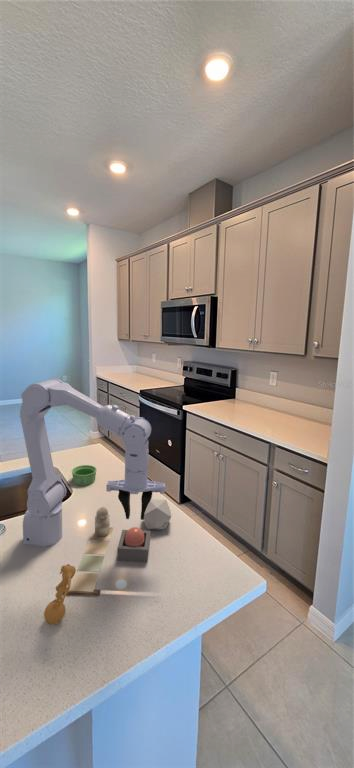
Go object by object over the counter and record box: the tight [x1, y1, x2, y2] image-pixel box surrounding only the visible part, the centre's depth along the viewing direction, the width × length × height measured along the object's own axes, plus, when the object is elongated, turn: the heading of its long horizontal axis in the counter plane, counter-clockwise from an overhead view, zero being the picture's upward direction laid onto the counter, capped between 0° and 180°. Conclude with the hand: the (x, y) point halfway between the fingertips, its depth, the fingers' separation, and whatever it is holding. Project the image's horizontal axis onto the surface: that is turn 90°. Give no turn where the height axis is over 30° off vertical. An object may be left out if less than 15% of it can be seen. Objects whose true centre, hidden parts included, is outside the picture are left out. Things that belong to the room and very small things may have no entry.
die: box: [142, 498, 172, 530], centre depth 97 cm, size 8×9×10 cm
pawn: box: [94, 506, 111, 537], centre depth 92 cm, size 4×4×8 cm
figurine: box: [43, 563, 77, 625], centre depth 65 cm, size 8×6×12 cm
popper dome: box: [125, 526, 145, 547], centre depth 85 cm, size 5×5×5 cm
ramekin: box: [71, 464, 97, 486], centre depth 124 cm, size 9×9×4 cm
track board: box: [62, 526, 114, 597], centre depth 84 cm, size 8×24×1 cm, turn 0°
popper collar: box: [116, 529, 151, 563], centre depth 86 cm, size 8×8×4 cm
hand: (135, 517), depth 84 cm, fingers open, 3 cm apart
